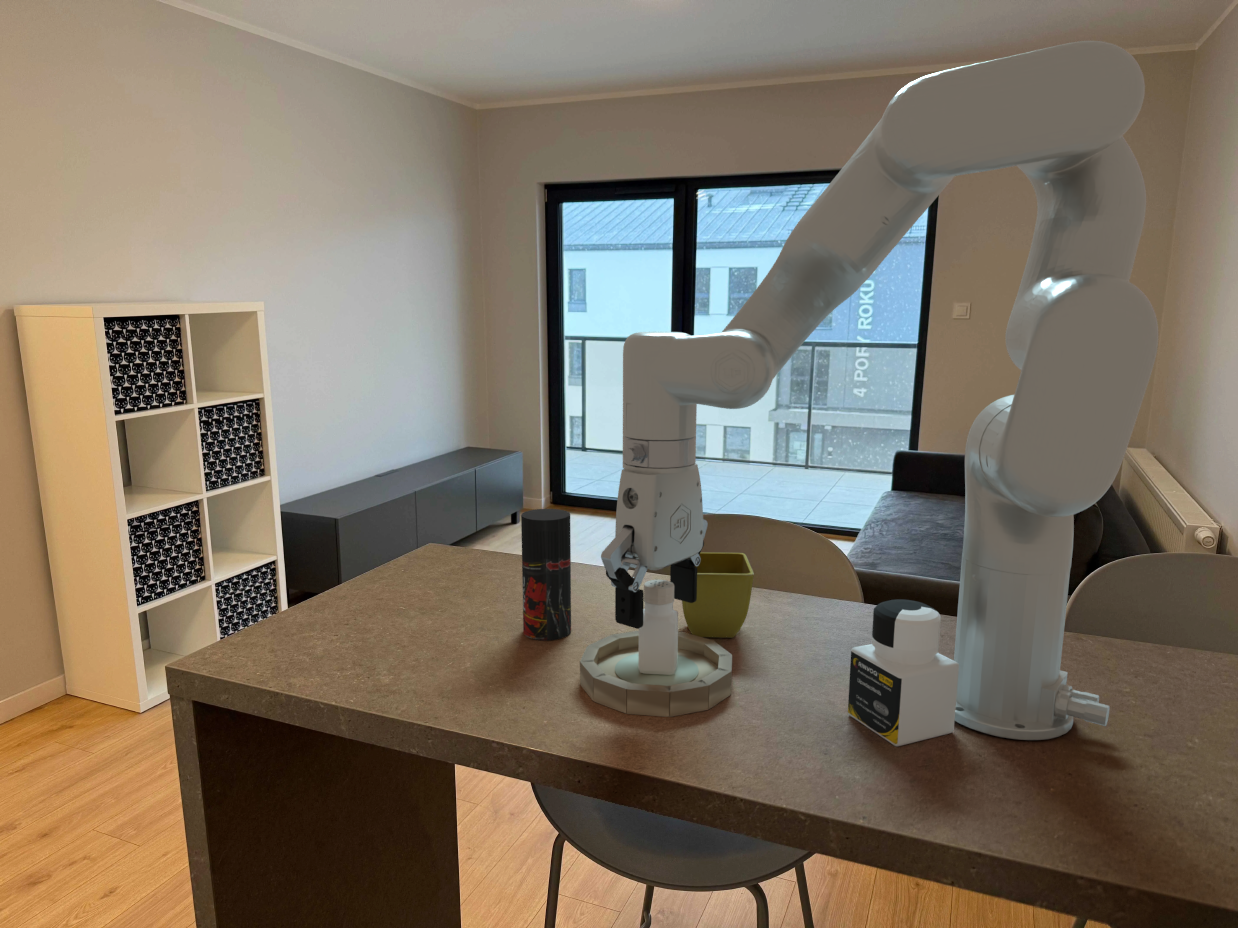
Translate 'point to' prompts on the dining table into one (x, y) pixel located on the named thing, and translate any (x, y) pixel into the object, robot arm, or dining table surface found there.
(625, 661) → the tray
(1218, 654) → the dining table surface
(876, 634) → the medicine bottle
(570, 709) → the dining table surface
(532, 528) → the deodorant
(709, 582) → the flower pot
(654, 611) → the pepper shaker
